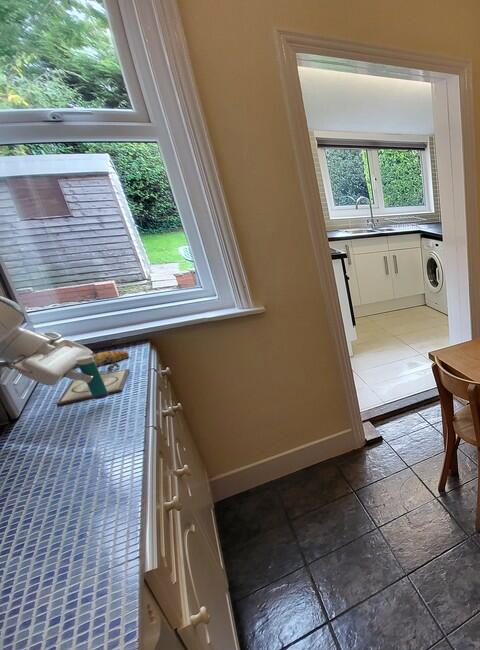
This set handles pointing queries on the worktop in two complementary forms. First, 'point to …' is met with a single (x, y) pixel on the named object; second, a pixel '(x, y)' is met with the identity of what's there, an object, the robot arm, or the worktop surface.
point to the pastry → (115, 354)
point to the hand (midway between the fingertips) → (95, 376)
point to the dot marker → (90, 367)
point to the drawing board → (81, 391)
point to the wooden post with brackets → (108, 362)
